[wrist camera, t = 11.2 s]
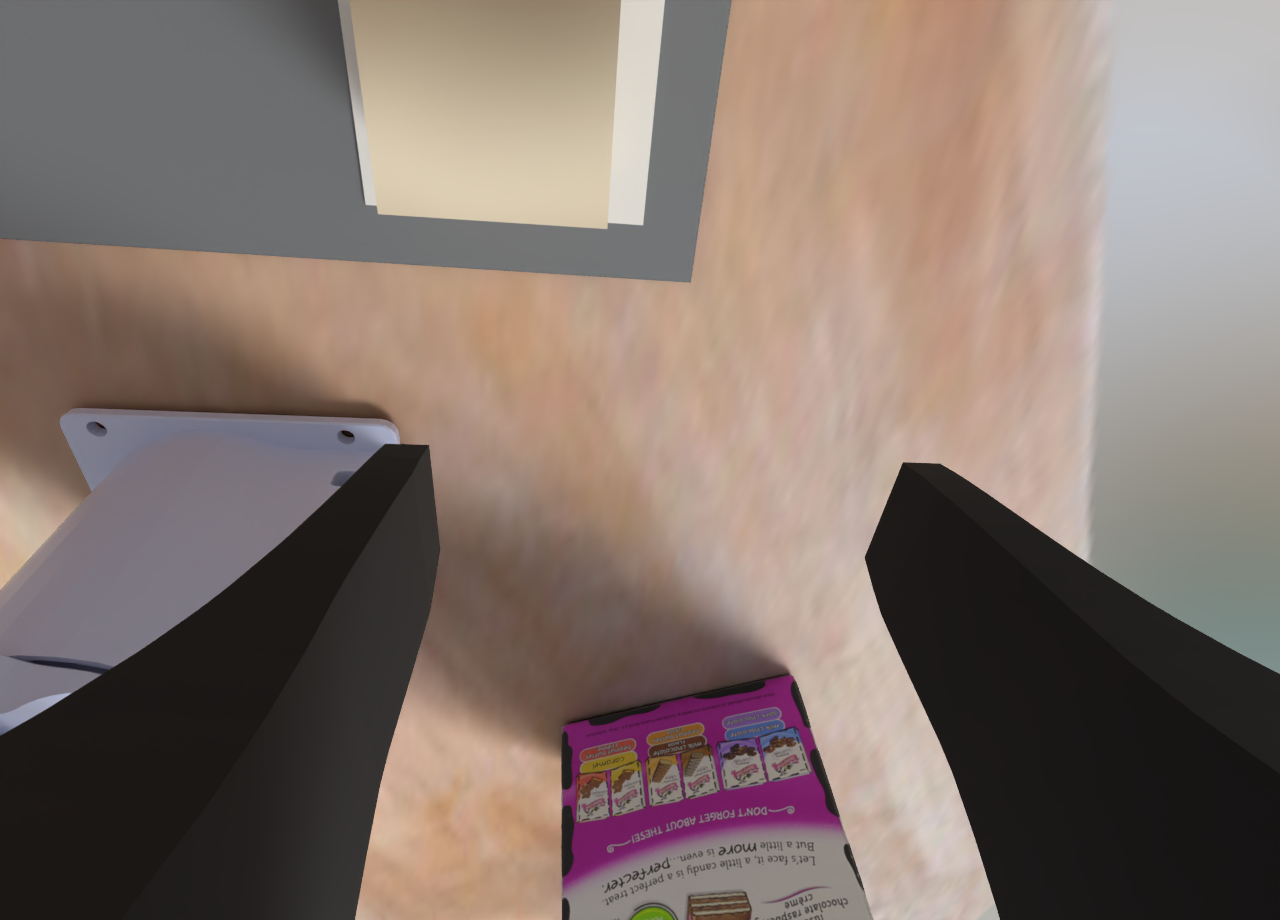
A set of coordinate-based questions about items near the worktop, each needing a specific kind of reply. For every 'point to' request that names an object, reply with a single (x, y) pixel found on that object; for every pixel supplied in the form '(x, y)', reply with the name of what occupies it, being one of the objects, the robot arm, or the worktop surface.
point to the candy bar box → (704, 813)
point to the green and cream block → (490, 107)
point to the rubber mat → (312, 138)
